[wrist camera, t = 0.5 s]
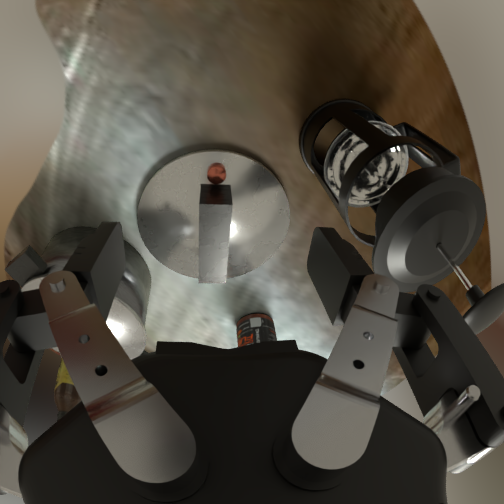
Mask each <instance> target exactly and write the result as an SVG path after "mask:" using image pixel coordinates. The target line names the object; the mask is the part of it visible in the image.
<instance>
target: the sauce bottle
mask: <svg viewBox="0 0 504 504" xmlns="http://www.w3.org/2000/svg"><path fill="white" fill-rule="evenodd" d="M54 394H55V395H54V399H55V403H56V405H57V408H58V411H59V412H58V420H59V419H61V418H62V417H63V416H64V415H65V414H66V413H67V412H69V411H70V410H71V409H72V408H73V407H74V406H76V405H77V404H78V403H79V402H80V401H81V398H80V396H79V394H78V392H77V390H76V388H75V386H74V384H73V382H72V379H71V377H70V375H69V373H68V371H67V368H66V366H65V364H64V361H63V359H62V358H61V362H60V368H59V371H58V376H57V381H56V385H55V391H54ZM58 420H57V421H58Z"/></svg>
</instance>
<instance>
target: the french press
mask: <svg viewBox="0 0 504 504" xmlns="http://www.w3.org/2000/svg"><path fill="white" fill-rule="evenodd" d="M357 114H358V115H357ZM359 115H360V116H361V117H360V116H359ZM362 117H363V118H364V119H363V118H362ZM332 118H334V119H335V120H336V121H338V122H339V123H340V124H341V125H343V126H344V127H345V129H344V130H342V131H341V132H340V133H339V134H338V135H337V136H336V138H335V139H334V140H333V142H332V143H331V145H330V147H329V149H328V151H327V154H326V157H325V162H324V166H322V165H321V164H320V163H319V162H318V160H317V159H316V157H315V154H314V150H313V146H314V143H315V140H316V138H317V136H318V134H319V132H320V130H321V129H322V128H323V127H324V126H325V124H326V123H327V122H329V121H330V120H331V119H332ZM299 145H300V153H301V155H302V158H303V161H304V162H305V164H306V166H307V167H308V168H309V170H310V171H311V172H312V173H313V174H315V175H316V177H317V178H318V180H319V182H320V183H321V185H322V186H323V188H324V189H325V191H326V192H327V194H328V195H329V197H330V199H331V200H332V202H333V203H334V205H335V207H336V208H337V210H338V211H339V213H340V215H341V216H342V218H343V220H344V221H345V223H346V225H347V226H348V228H349V230H350V231H351V233H352V234H353V235H354V236H355V238H356V239H357V240H359V241H360V242H362V243H363V244H366V245H368V246H371V247H373V253H372V266H373V271H374V273H375V274H379V275H383V276H385V277H388V278H389V279H391V280H392V281H394V282H395V283H396V284H397V286H398V288H399V292H413V291H417V289H418V287H419V286H420V285H422V284H428V285H433V284H436V283H437V282H439V281H441V280H442V279H444V278H445V277H447V276H448V275H449V274H450V273H452V272H453V271H455V272H456V274H457V275H458V277H459V278H460V279H461V281H462V282H463V284H464V285H465V287H466V288H467V290H468V291H467V293H466V297H467V299H468V301H469V302H470V304H471V306H472V307H471V308H470V309H469V310H468V311H467V312H466V313H465V314H464V315H463V318H464V320H465V321H466V322H467V324H468V325H469V327H470V328H471V329H472V331H473V332H474V334H475V335H476V334H478V333H479V332H481V331H483V330H484V329H486V328H487V327H488V326H490V325H491V324H492V323H493V322H494V321H495V320H496V319H497V318H498V317H499V316H500V315H501V314H502V313H503V311H504V283H503V284H501V285H499V286H497V287H495V288H493V289H492V290H490V291H489V292H488V293H486V294H485V295H484V293H483V292H482V291H481V289H480V288H479V287H478V285H474V286H472V285H471V284H470V282H469V281H468V279H467V278H466V276H465V275H464V274H463V272H462V271H461V269H460V268H459V267H458V266H459V265H460V264H461V263H462V262H463V261H464V260H465V259H466V257H467V256H468V255H469V254H470V252H471V251H472V249H473V248H474V246H475V244H476V243H477V241H478V239H479V236H480V234H481V232H482V228H483V225H484V221H485V215H486V204H485V200H484V196H483V194H482V192H481V190H480V188H479V187H478V186H477V185H476V184H475V183H474V182H473V181H472V180H470V179H468V178H466V177H464V176H461V173H460V160H459V157H458V156H456V155H455V154H453V153H452V152H451V151H449V150H448V149H446V148H445V147H444V146H442V145H441V144H439V143H438V142H436V141H435V140H433V139H432V138H430V137H429V136H427V135H425V134H424V133H422V132H421V131H419V130H417V129H416V128H414V127H413V126H411V125H409V124H408V123H406V122H403V123H400V124H398V125H395V126H393V127H392V126H390V125H388V124H387V123H386V121H385V120H384V119H383V118H382V117H380V116H379V115H377V114H376V113H374V112H373V111H372V110H371V109H370V108H369V107H367V106H366V105H364V104H362V103H360V102H358V101H355V100H350V99H337V100H333V101H329V102H326V103H325V104H323V105H321V106H319V107H318V108H317V109H316V110H314V111H313V112H312V113H311V114H310V116H309V117H308V118H307V120H306V121H305V123H304V125H303V127H302V131H301V134H300V143H299ZM416 146H419V147H421V148H422V149H423V150H425V151H426V152H428V153H429V154H430V155H431V157H430V156H428V155H427V154H426V153H424V152H423V151H422V150H420V149H419V148H417V147H416ZM408 156H409V157H410V158H411V159H412V160H414V161H415V162H416V163H417V164H418V165H420V166H421V167H422V168H421V169H418V170H415V171H413V172H411V173H409V174H407V175H406V176H405V174H406V171H407V167H408ZM348 206H352V207H367V206H371V208H372V209H373V210H374V212H375V213H376V222H375V230H376V236H371V235H366V234H363V233H360V232H358V231H357V230H356V229H354V228H353V227H352V226H351V225H350V223H349V218H348Z"/></svg>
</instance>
